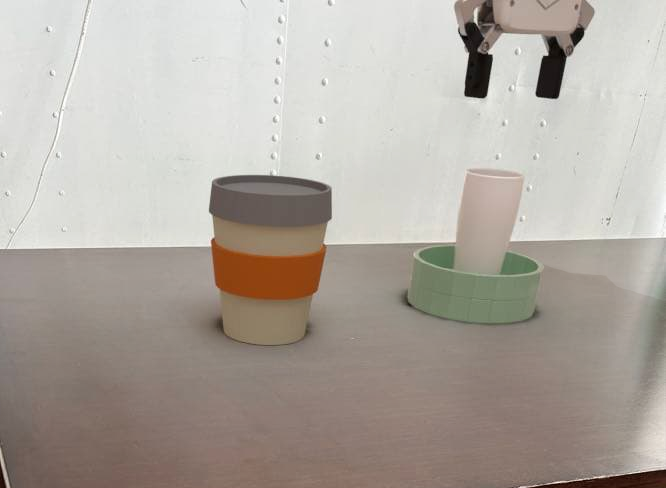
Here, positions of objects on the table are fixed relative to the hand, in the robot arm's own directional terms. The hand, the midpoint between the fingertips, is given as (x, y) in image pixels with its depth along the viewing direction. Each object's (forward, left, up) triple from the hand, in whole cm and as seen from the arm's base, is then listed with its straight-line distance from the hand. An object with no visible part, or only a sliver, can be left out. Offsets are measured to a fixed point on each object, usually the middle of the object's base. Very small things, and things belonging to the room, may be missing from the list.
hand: (511, 97), depth 88 cm
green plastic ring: (0, 0, -23) cm, 23 cm away
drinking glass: (0, 0, -23) cm, 23 cm away
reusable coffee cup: (+24, +15, -23) cm, 37 cm away
